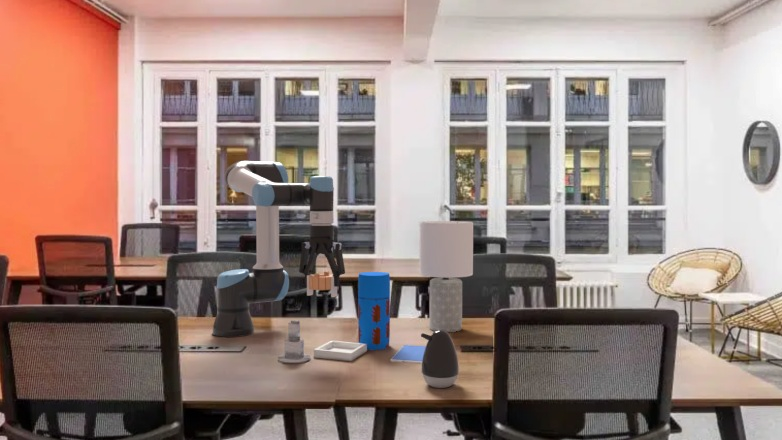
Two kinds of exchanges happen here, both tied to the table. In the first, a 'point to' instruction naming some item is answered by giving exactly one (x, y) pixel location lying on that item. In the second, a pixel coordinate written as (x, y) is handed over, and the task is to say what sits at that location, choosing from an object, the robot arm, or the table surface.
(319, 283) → the ring
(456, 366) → the pump dispenser
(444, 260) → the lamp
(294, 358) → the grey stepped cylinder
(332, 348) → the tray
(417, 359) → the tablet computer
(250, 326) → the robot arm
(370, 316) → the thermos
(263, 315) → the table surface
